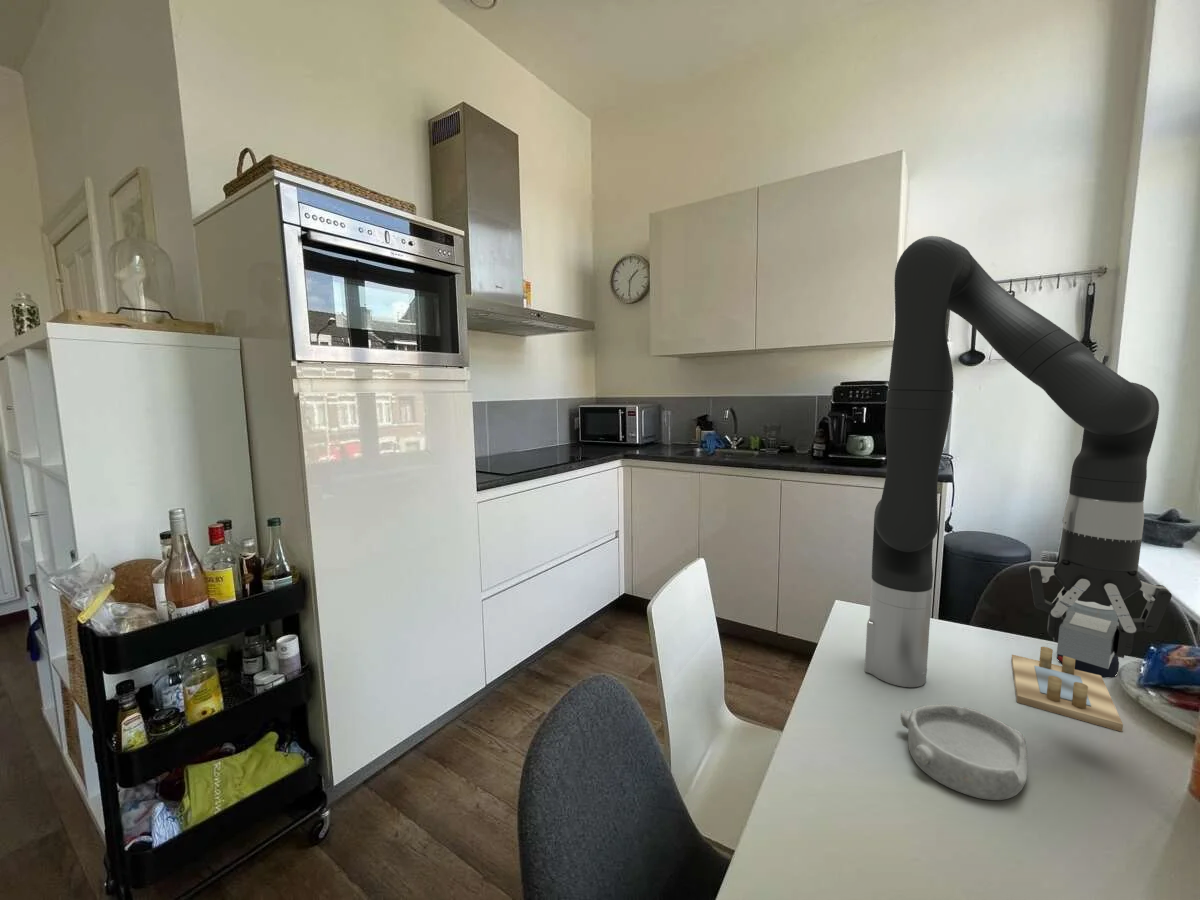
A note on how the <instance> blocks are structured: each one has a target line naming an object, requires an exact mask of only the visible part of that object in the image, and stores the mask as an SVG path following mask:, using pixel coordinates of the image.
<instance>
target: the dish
mask: <svg viewBox="0 0 1200 900" xmlns="http://www.w3.org/2000/svg"><path fill="white" fill-rule="evenodd" d="M900 722H901V723H902V724H901V725H902V726H903V727H904V728H906V729H907V731H908V732H907V733H908V734H907V735H908V736H907V743H908V749H909V753H910V755H911V758H912V759H913V761H914V763H915V764H916V765H917V766H918V767H919V768H920V769H921V770H922V771H923V772H924V773H925V774H926V775H928V776H929V777H930V778H931V779H933V780H934V781H937V782H938V783H940V785H943V786H945V787H947V788H948V789H952V790H953V791H956V792H958V793H961V794H964V795H966V796H969V797H972V798H977V799H983V800H989V801H1001V800H1002V801H1003V800H1008V799H1010V798H1011V799H1012V798H1013V797H1015V796H1016V795H1019V793H1020V792H1021V791H1022V789H1023V788H1024V786H1025V785H1026V782H1027V778H1028V772H1029V771H1028V770H1029V765H1028V764H1029V762H1028V749H1027V746H1026V744H1027V743H1026V742H1027V741H1026V738H1025V737H1024V735H1023V733H1022V732H1021V731H1019V730H1018V729H1015V728H1012V727H1010V726H1009V725H1008V724H1006V723H1004V722H1002V721H1001V720H998V719H997V718H995V717H993V716H991V715H988V714H986V713H983V712H981V711H978V710H975V709H973V708H969V707H962V706H961V707H960V706H957V705H954V704H948V703H947V704H946V703H945V704H942V703H941V704H931V705H930V704H929V705H924V706H923V705H922V706H919V707H916V708H914V709H912V711H911V712H910V711H908V710H906V709H905V710H902V711H901V712H900Z"/></svg>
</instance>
